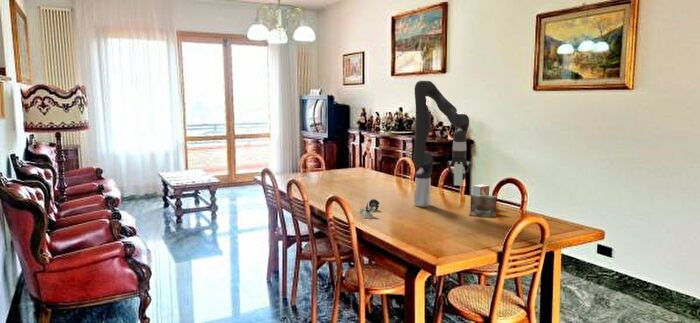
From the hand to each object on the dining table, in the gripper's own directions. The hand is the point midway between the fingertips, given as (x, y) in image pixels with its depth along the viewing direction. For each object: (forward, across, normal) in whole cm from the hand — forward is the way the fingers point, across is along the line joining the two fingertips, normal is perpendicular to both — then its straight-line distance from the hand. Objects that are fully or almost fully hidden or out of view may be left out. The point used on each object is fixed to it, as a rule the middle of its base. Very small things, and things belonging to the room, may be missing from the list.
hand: (458, 179), depth 269 cm
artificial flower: (+20, -47, -16) cm, 54 cm away
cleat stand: (+19, +14, 0) cm, 24 cm away
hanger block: (+3, 0, 0) cm, 3 cm away
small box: (+20, +12, +20) cm, 30 cm away
